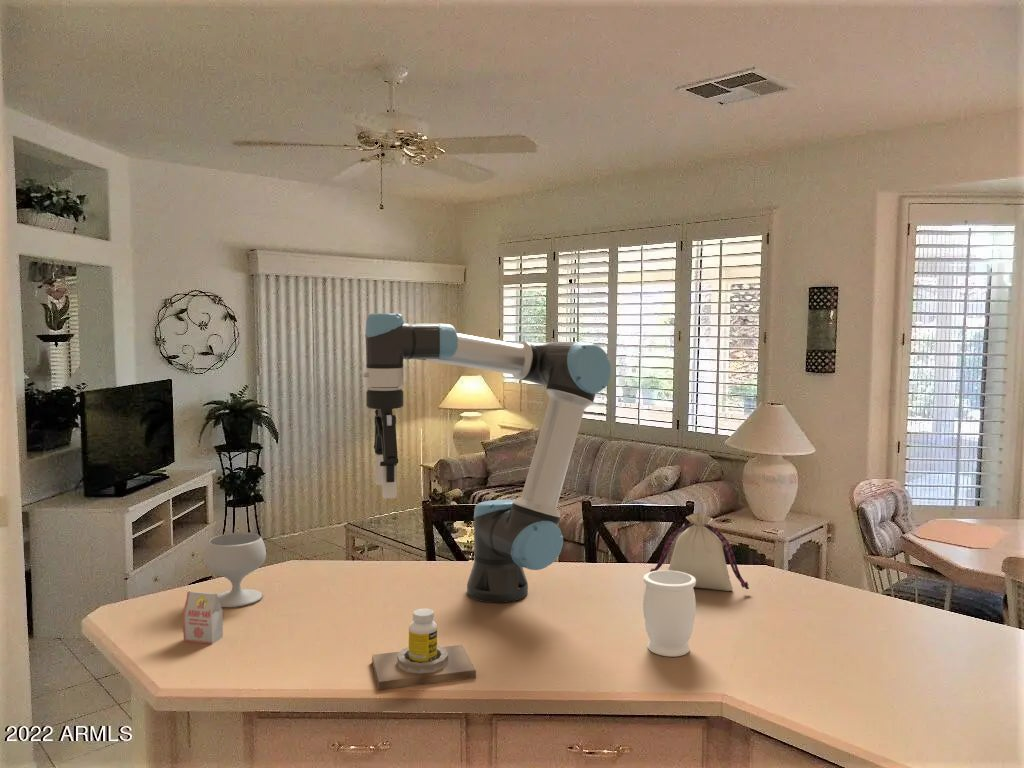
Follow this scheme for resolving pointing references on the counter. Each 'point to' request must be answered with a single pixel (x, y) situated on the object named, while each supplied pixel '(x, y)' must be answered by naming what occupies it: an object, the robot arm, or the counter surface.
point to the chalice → (235, 564)
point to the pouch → (701, 555)
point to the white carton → (202, 618)
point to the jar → (669, 611)
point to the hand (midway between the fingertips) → (385, 491)
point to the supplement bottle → (423, 636)
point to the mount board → (422, 668)
